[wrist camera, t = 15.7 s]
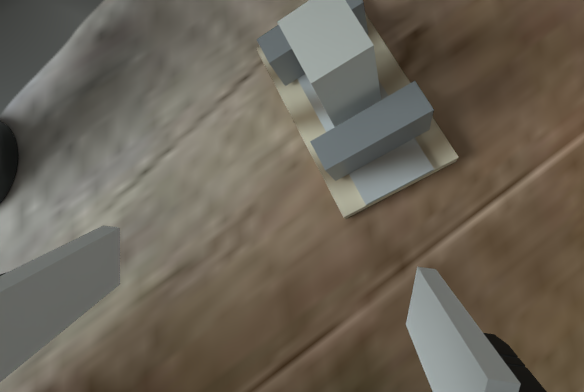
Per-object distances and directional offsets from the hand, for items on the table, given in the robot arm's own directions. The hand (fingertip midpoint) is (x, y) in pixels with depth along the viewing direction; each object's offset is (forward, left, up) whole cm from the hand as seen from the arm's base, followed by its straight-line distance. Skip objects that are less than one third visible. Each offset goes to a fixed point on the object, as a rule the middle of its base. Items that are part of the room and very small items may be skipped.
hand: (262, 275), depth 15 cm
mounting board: (-12, +12, -22) cm, 28 cm away
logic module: (-12, +12, -20) cm, 26 cm away
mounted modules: (-12, +12, -20) cm, 26 cm away
